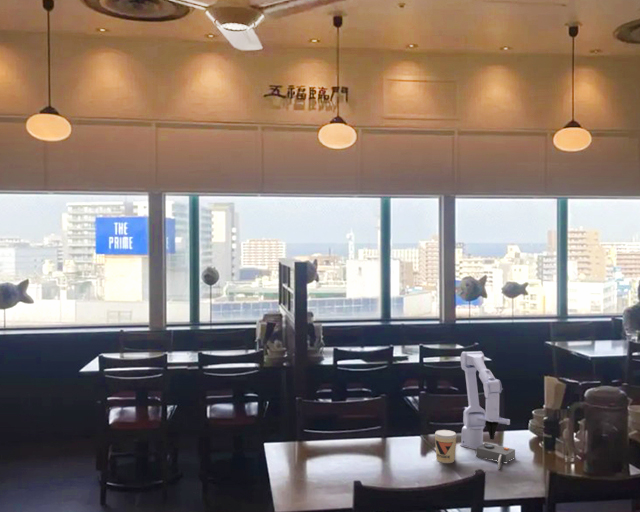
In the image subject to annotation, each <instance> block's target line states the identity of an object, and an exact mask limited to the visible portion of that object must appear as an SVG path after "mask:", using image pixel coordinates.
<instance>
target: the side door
mask: <svg viewBox="0 0 640 512" xmlns="http://www.w3.org/2000/svg"><path fill="white" fill-rule="evenodd" d="M501 462H502V454H500V456H499V459H498V462H497V470H498V469H501V467H502V463H501Z"/></svg>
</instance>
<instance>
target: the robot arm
mask: <svg viewBox="0 0 640 512" xmlns="http://www.w3.org/2000/svg"><path fill="white" fill-rule="evenodd" d="M459 360H460V367H461V370H463V371H464V374H465V383H466V393H467V401H468V402H467V403H468V406H467V407H466V408H465V409H464V410H463V411H462V412H463V417H462V419H463V420H462V422H463V426H462V428H461V435H460V436H461V439H460V441H461V443H460V446H461V447H464V448H469V449H473V450H476V448H477V447H479V446H481V445H482V444H484V429H485V427H486V429H487V432H488V436H489V439H490V440H495V436H496V432H497V430H498V427H499V425H500V424H502V425H506V426H507V425H508V426H509V425H511V419H509V418H505V417H504V418H503V417H501V416H500V394H501V393H502V390H503V386H502V385H503V384H502V382H501V380H500V379H497V378H496V377H495V376H494V374H493V373H492V371H491V369H489V368H487V366H486V364H485V354H484V352H483V351H481V350H478V351H462V352H461V353H460V359H459ZM477 371H478V378H479V379H480V381H481V383H482V384H483V391H484V397H485V409H484V408H482V406H480V399H479V392H478V381H477V380H478V379H477V375H476V374H477Z"/></svg>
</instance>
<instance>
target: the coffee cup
mask: <svg viewBox="0 0 640 512" xmlns="http://www.w3.org/2000/svg"><path fill="white" fill-rule="evenodd" d="M434 437H435V439H434V440H435V441H434V443H435V454H436V462H439V463H443V464H452V463H453V462H455V459H456V446H457V444H456V443H457V434H456V432H455V431H453V430H448V429H438V430H436V431H435V433H434Z"/></svg>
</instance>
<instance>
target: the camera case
mask: <svg viewBox="0 0 640 512" xmlns="http://www.w3.org/2000/svg"><path fill="white" fill-rule="evenodd" d="M475 450H476V451H475V453H476V456H477V458H480V457H481V459H484V458H487V459H486V460H488V459H493V460H497V461H498V459H499V456H500V454H502V462H508V461H509V460H511V459H513V458H515V459H516V449H514V448H511V447H506V446H501V445H497V444H493V443H488V442H485V443H484V442H483V444H482V445H481V446H479V447H477V448H476V449H475ZM476 456H475V457H476ZM513 460H514V459H513ZM508 463H509V462H508Z"/></svg>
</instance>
